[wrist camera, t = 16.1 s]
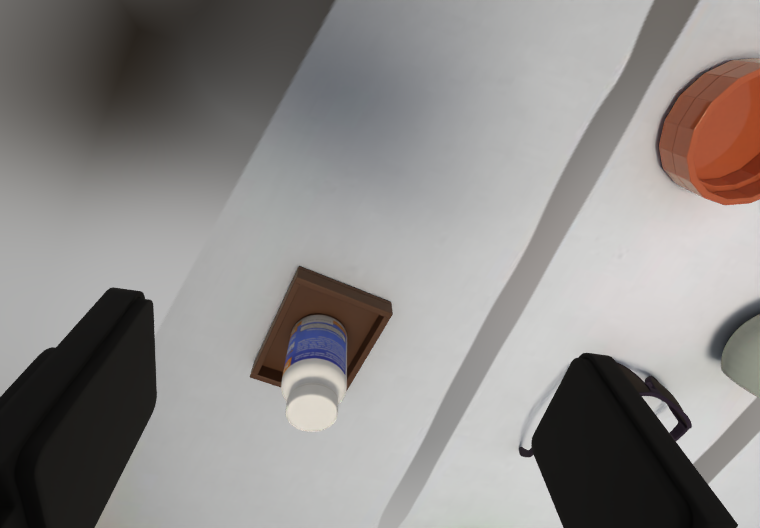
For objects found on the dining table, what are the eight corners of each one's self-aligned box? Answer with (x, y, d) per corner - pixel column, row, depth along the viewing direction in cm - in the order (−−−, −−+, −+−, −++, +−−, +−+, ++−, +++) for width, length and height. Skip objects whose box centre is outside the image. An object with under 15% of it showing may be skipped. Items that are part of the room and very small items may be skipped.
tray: (298, 265, 40) (296, 276, 38) (391, 302, 42) (392, 314, 41) (253, 363, 45) (249, 377, 43) (338, 391, 47) (337, 405, 45)
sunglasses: (683, 382, 49) (715, 418, 45) (594, 473, 55) (615, 512, 51) (581, 344, 46) (605, 379, 41) (500, 445, 52) (513, 484, 48)
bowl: (631, 134, 36) (661, 146, 32) (748, 26, 33) (796, 27, 29) (696, 210, 39) (729, 229, 36) (807, 120, 36) (856, 131, 32)
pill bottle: (286, 315, 42) (267, 391, 33) (344, 309, 42) (340, 383, 33) (296, 361, 44) (282, 442, 36) (351, 355, 44) (350, 435, 36)
